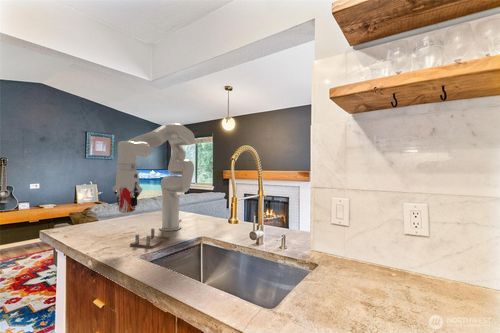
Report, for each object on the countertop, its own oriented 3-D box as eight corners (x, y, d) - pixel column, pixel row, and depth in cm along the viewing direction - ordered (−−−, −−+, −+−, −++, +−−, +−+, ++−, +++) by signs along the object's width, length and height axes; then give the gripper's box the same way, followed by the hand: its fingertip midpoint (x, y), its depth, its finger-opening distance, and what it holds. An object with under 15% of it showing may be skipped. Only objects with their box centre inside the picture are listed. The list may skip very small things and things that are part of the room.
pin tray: (149, 237, 130) (149, 227, 130) (169, 239, 127) (169, 229, 127) (129, 246, 116) (130, 234, 116) (152, 248, 113) (152, 237, 113)
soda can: (128, 214, 112) (128, 187, 112) (115, 213, 114) (114, 187, 113) (138, 210, 119) (138, 186, 119) (126, 210, 121) (125, 185, 120)
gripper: (148, 167, 117) (148, 205, 118) (118, 167, 122) (118, 203, 122) (137, 168, 110) (137, 208, 110) (105, 167, 115) (105, 205, 115)
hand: (127, 205), depth 116 cm, fingers closed on soda can, 7 cm apart
